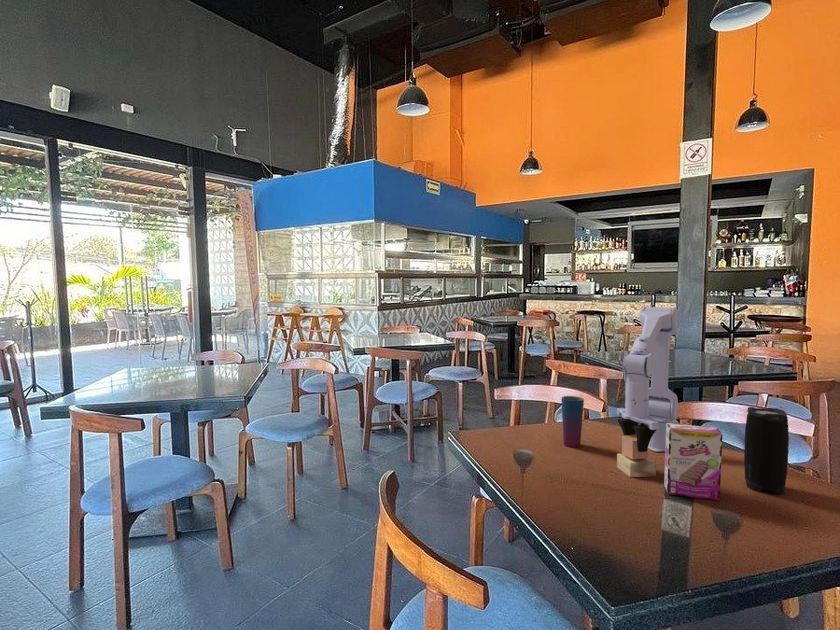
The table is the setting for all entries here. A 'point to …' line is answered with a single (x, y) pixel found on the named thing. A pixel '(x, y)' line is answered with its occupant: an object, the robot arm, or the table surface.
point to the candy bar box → (693, 461)
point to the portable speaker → (766, 449)
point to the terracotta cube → (632, 447)
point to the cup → (572, 420)
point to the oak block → (636, 466)
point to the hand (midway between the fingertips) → (636, 448)
